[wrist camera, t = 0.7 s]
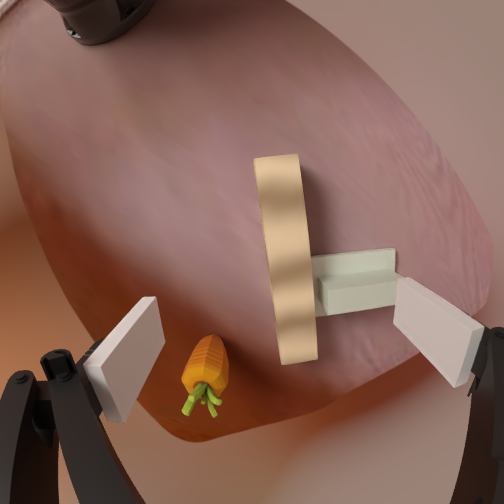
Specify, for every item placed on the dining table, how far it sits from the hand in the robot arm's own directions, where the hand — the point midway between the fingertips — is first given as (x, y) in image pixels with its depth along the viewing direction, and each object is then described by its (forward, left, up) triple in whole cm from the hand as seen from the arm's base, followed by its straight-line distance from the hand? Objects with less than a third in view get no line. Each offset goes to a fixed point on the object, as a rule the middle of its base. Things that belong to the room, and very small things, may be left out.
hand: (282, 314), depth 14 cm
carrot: (+12, -8, -21) cm, 26 cm away
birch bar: (+2, +3, -21) cm, 22 cm away
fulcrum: (+6, +11, -21) cm, 25 cm away
